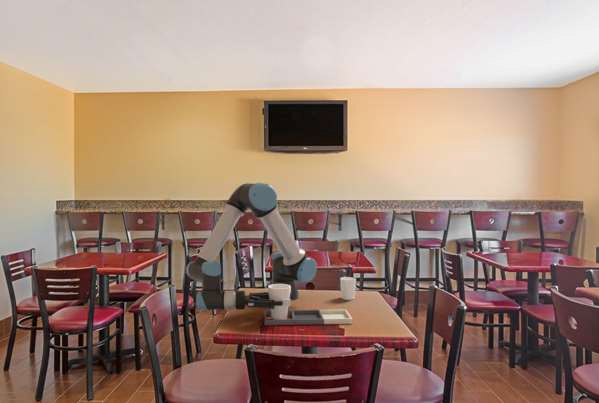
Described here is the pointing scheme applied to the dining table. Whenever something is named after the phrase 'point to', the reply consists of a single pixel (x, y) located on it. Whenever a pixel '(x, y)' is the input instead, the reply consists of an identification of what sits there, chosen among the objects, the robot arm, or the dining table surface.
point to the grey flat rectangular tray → (312, 317)
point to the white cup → (348, 288)
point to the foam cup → (279, 293)
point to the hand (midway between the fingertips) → (289, 299)
